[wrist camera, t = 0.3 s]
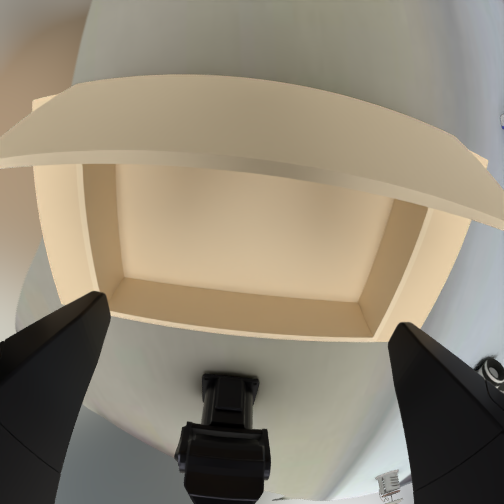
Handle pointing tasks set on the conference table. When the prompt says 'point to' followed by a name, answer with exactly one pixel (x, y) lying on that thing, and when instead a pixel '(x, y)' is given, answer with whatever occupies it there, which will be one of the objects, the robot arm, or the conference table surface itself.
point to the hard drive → (502, 120)
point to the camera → (493, 373)
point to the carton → (243, 250)
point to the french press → (389, 485)
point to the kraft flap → (257, 138)
